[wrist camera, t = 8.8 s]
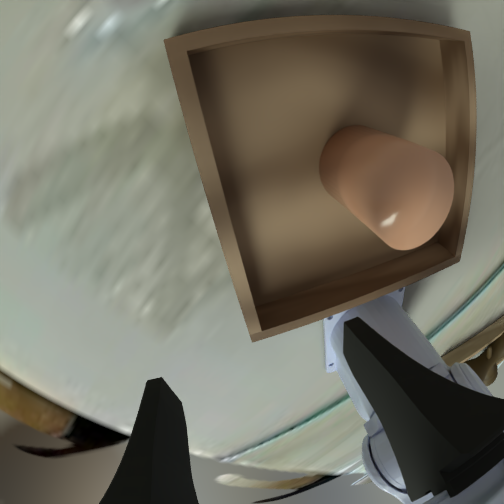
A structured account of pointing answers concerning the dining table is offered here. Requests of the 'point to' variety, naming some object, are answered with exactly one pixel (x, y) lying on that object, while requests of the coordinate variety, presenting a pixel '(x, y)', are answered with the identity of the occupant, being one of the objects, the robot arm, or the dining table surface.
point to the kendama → (488, 361)
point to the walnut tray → (319, 151)
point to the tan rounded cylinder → (388, 184)
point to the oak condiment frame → (476, 344)
